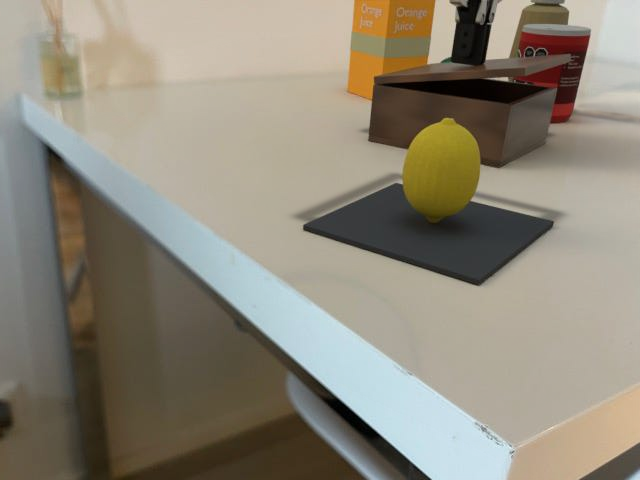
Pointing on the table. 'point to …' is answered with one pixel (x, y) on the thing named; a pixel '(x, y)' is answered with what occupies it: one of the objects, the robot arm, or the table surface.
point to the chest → (466, 114)
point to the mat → (433, 233)
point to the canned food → (562, 76)
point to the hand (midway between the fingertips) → (467, 63)
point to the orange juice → (387, 40)
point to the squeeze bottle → (539, 19)
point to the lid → (475, 69)
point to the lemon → (441, 170)
